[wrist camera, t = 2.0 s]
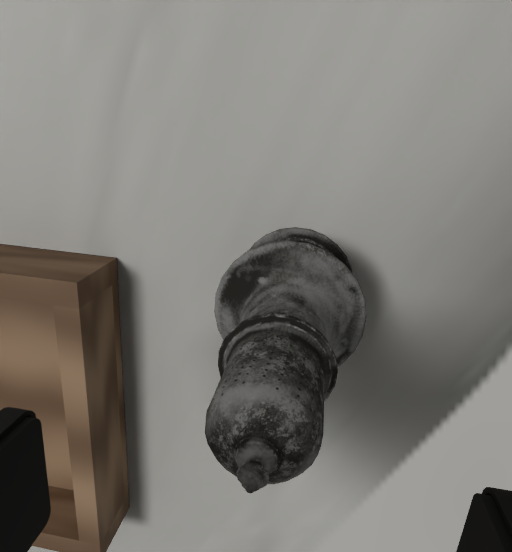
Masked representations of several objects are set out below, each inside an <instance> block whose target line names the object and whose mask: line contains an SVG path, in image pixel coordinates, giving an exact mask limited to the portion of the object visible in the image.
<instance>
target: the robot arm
mask: <svg viewBox="0 0 512 552" xmlns="http://www.w3.org/2000/svg"><path fill="white" fill-rule="evenodd" d="M50 512H51V505H50V496H49V487H48V478H47V469H46V461H45V452H44V443H43V434H42V425H41V421H40V420H39V419H37V418H36V414H35V413H34V412H33V411H31V410H25V409H19V408H13V407H5V408H3V409H2V410H0V552H27V551H28V550H29V549H30V547H31V546H32V544H33V543H34V542H35V540H36V539H37V537H38V536H39V535H40V533H41V532H42V530H43V529H44V528H45V526H46V524H47V522H48V520H49V517H50ZM457 552H512V491H508V490H502V489H496V488H490V487H486V488H485V489H484V490H483V492H482V494H478V493H476V494H475V495H474V496H473V499H472V502H471V506H470V509H469V512H468V515H467V519H466V522H465V525H464V529H463V532H462V535H461V539H460V542H459V545H458V549H457Z"/></svg>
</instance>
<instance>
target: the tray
mask: <svg viewBox="0 0 512 552" xmlns="http://www.w3.org/2000/svg"><path fill="white" fill-rule="evenodd" d="M5 407H13V408H19V409H25V410H31V411H33V412H34V413H35V414H36V418H37V419H39V420H40V421H41V425H42V434H43V443H44V452H45V461H46V469H47V478H48V487H49V496H50V505H51V512H50V517H49V520H48V522H47V524H46V526H45V528H44V529H43V530H42V532H41V533H40V535H39V536H38V537H37V539H36V540H35V542H34V543H33V544H32V546H36V547H41V548H45V549H50V550H54V551H59V552H106V551H107V549H108V547H109V545H110V543H111V541H112V539H113V537H114V536H115V534H116V532H117V530H118V528H119V526H120V524H121V522H122V520H123V518H124V516H125V515H126V513H127V511H128V509H129V488H128V469H127V449H126V430H125V410H124V391H123V371H122V352H121V332H120V313H119V293H118V274H117V258H113V257H104V256H96V255H88V254H79V253H71V252H62V251H54V250H46V249H37V248H29V247H21V246H12V245H4V244H0V410H2V409H3V408H5Z"/></svg>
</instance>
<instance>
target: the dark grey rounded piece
mask: <svg viewBox="0 0 512 552" xmlns="http://www.w3.org/2000/svg"><path fill="white" fill-rule="evenodd" d="M214 312H215V317H216V322H217V327H218V330H219V332H220V334H221V336H222V338H223V340H224V341H223V343H222V346H221V348H220V350H219V358H218V367H219V371H220V376H221V380H220V382H219V384H218V387H217V389H216V391H215V394H214V396H213V398H212V401H211V403H210V405H209V408H208V410H207V413H206V425H205V434H206V438H207V443H208V445H209V447H210V449H211V450H212V452H213V454H214V456H215V457H216V459H217V460H218V461H219V463H220V464H221V465H222V466H223V467H224V468H225V469H226V470H228V471H229V472H231V473H232V474H234V475H235V476H237V478H238V480H239V481H240V482H241V483H242V486H243V487H244V488H245V489H246V491H247V492H248V493H253V492H254V491H257V490H259V489H260V488H262V487H264V486H266V485H267V484H276V483H281V482H286V481H288V480H290V479H292V478H294V477H296V476H298V475H300V474H301V473H303V472H304V471H305V470H306V469H307V468H309V467H310V466H311V465H312V463H313V462H314V460H315V458H316V457H317V455H318V453H319V450H320V447H321V443H322V438H323V420H324V401H325V400H326V399H327V398H328V397H329V395H330V393H331V391H332V390H333V388H334V386H335V383H336V378H337V373H338V370H337V367H338V366H340V365H341V364H342V363H343V362H344V361H345V360H346V359H347V358H348V357H349V356H350V355H351V354H352V353H353V352H354V351H355V349H356V347H357V345H358V343H359V341H360V340H361V338H362V336H363V331H364V326H365V322H366V309H365V299H364V296H363V293H362V291H361V288H360V286H359V283H358V281H357V279H356V278H355V277H354V275H353V274H352V270H351V267H350V264H349V262H348V259H347V257H346V256H345V254H344V253H343V252H342V250H341V249H340V248H339V246H338V245H337V244H336V243H334V242H333V241H332V240H330V239H329V238H328V237H326V236H325V235H323V234H320V233H318V232H315V231H313V230H311V229H303V228H296V227H294V228H286V229H279V230H277V231H274V232H272V233H269V234H267V235H265V236H264V237H262V238H261V239H260V240H258V241H257V242H256V243H254V245H253V246H252V247H251V249H250V250H249V251H247V252H246V253H245V254H243V255H242V256H241V257H239V258H238V259H237V260H235V261H234V262H233V263H232V265H231V266H230V267H229V269H228V270H227V271H226V273H225V274H224V275H223V277H222V279H221V281H220V284H219V287H218V289H217V292H216V297H215V311H214Z"/></svg>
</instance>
